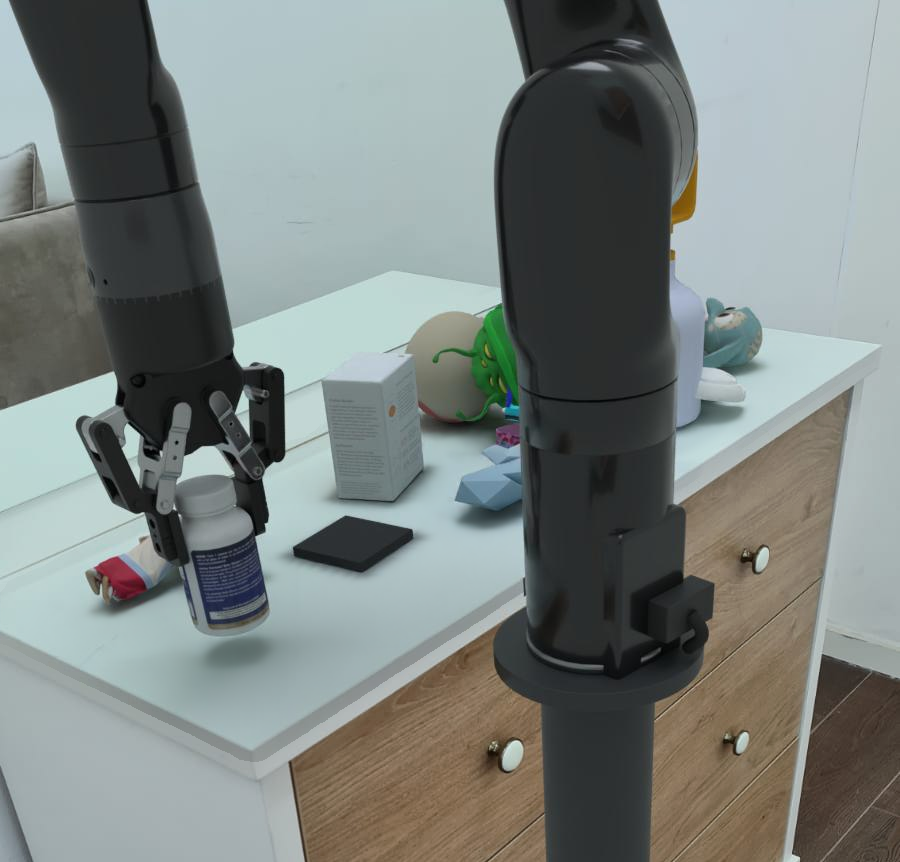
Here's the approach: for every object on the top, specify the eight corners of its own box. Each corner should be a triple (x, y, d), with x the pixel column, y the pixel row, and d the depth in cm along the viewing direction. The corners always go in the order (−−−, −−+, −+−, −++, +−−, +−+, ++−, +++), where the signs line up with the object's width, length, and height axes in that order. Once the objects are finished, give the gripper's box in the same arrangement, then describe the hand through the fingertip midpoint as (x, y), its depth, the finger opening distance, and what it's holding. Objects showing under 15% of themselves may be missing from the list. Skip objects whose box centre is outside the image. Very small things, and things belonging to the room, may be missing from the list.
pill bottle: (287, 610, 82) (261, 475, 76) (236, 645, 78) (204, 506, 72) (229, 597, 84) (199, 465, 78) (177, 630, 81) (142, 494, 75)
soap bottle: (587, 422, 114) (585, 136, 100) (643, 396, 119) (649, 120, 105) (662, 439, 109) (672, 140, 95) (718, 411, 114) (735, 123, 100)
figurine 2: (414, 325, 107) (478, 263, 99) (526, 304, 116) (594, 245, 107) (470, 453, 108) (538, 403, 100) (577, 423, 117) (648, 374, 108)
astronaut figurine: (701, 391, 122) (707, 360, 121) (759, 405, 112) (766, 371, 110) (625, 384, 120) (629, 353, 118) (677, 398, 109) (682, 363, 108)
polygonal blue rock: (533, 497, 107) (533, 436, 105) (595, 503, 102) (597, 439, 100) (431, 513, 98) (429, 447, 96) (494, 520, 93) (494, 451, 91)
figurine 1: (152, 639, 86) (299, 545, 94) (79, 554, 86) (232, 467, 94) (140, 673, 92) (280, 581, 99) (72, 593, 92) (216, 507, 99)
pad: (413, 538, 96) (412, 528, 95) (362, 572, 91) (360, 562, 91) (346, 523, 99) (345, 514, 99) (293, 556, 95) (292, 547, 94)
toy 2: (468, 258, 112) (423, 312, 121) (413, 344, 108) (370, 392, 117) (547, 328, 115) (497, 375, 124) (496, 414, 111) (448, 456, 120)
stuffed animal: (659, 296, 130) (768, 276, 124) (669, 361, 133) (776, 346, 127) (630, 322, 122) (744, 303, 116) (641, 391, 126) (753, 376, 120)
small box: (370, 466, 110) (356, 350, 104) (425, 469, 108) (415, 351, 102) (335, 499, 104) (318, 378, 98) (394, 502, 102) (380, 380, 96)
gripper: (73, 313, 62) (151, 602, 72) (293, 255, 69) (335, 525, 79) (14, 297, 67) (93, 570, 77) (224, 244, 74) (273, 500, 84)
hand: (216, 546), depth 78 cm, fingers closed on pill bottle, 5 cm apart
